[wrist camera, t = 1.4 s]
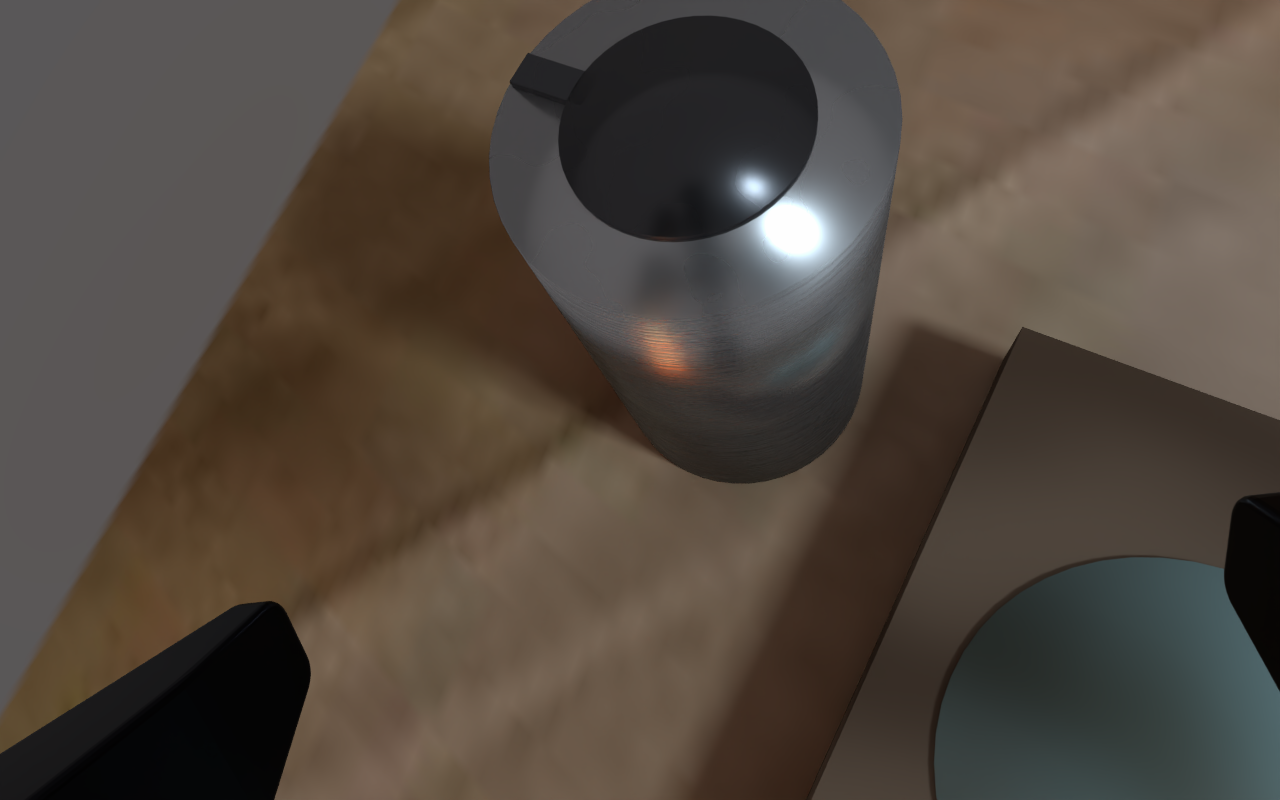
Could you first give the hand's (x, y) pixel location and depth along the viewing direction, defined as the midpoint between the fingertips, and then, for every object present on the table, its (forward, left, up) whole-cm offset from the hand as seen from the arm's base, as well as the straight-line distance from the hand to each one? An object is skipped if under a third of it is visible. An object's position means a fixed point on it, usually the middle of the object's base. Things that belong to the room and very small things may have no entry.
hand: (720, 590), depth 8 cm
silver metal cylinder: (+6, +4, -13) cm, 15 cm away
